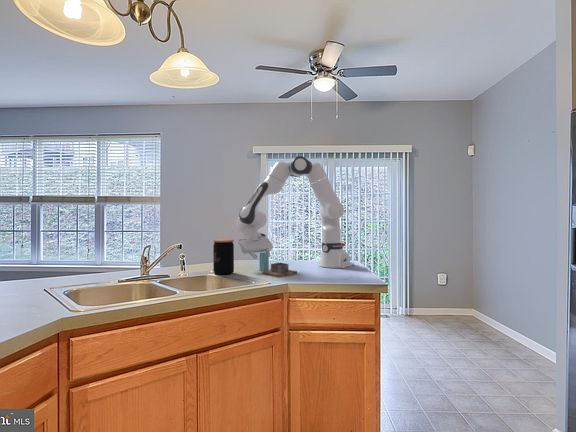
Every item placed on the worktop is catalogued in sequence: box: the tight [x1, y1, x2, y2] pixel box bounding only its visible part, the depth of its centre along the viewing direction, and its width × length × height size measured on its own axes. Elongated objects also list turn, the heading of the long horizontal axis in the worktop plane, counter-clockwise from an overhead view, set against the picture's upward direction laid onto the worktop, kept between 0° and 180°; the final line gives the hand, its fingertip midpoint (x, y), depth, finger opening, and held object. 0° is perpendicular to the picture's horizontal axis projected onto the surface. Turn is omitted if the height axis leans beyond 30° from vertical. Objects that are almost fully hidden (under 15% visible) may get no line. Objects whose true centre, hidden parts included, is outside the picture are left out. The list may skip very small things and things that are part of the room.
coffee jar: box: [212, 238, 235, 276], centre depth 177 cm, size 11×11×18 cm
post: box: [259, 252, 270, 272], centre depth 185 cm, size 4×4×10 cm
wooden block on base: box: [261, 262, 298, 278], centre depth 176 cm, size 14×12×5 cm
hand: (262, 257), depth 186 cm, fingers open, 8 cm apart
